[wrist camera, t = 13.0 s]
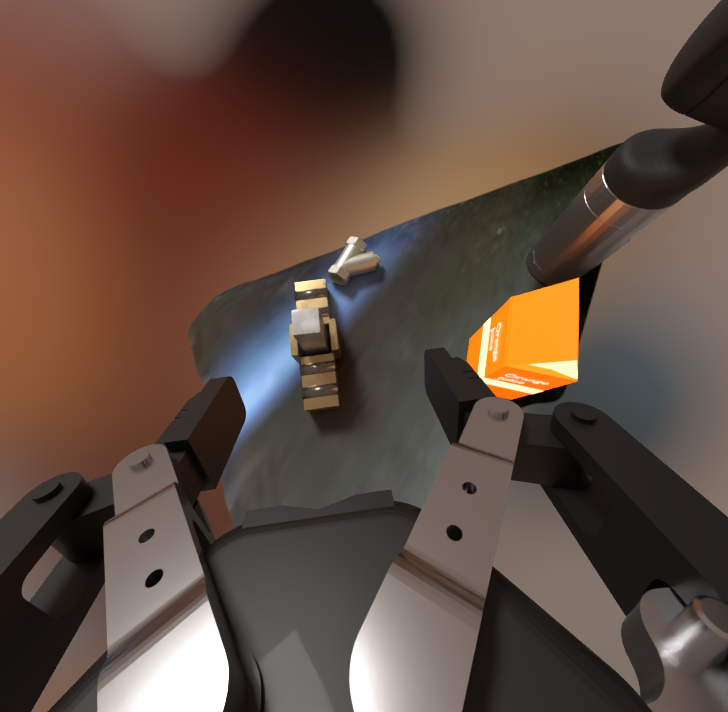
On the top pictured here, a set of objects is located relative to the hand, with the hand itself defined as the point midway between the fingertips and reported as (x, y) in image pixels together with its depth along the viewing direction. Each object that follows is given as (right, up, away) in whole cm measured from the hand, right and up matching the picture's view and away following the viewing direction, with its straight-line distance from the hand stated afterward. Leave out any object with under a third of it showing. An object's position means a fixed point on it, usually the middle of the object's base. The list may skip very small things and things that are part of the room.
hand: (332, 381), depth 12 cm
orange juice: (+22, -1, +34) cm, 40 cm away
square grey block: (-6, +3, +35) cm, 36 cm away
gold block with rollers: (-6, +3, +35) cm, 36 cm away
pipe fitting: (0, +16, +39) cm, 43 cm away
